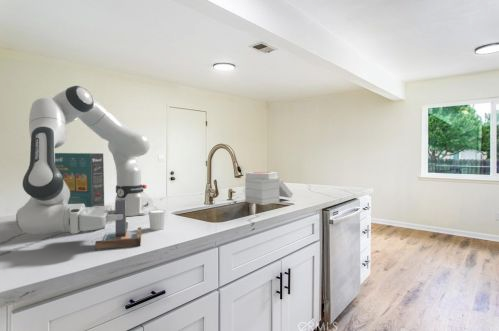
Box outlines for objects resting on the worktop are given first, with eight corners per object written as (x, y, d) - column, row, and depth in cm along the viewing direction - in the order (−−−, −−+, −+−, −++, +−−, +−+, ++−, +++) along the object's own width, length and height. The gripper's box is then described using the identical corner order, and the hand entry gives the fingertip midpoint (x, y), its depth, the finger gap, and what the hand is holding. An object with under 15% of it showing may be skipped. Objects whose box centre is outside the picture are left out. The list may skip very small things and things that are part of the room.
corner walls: (102, 237, 107) (102, 230, 107) (141, 234, 111) (141, 227, 111) (95, 250, 93) (95, 242, 93) (140, 245, 97) (140, 238, 97)
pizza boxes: (295, 200, 189) (295, 172, 188) (261, 205, 169) (262, 174, 168) (273, 196, 203) (273, 170, 203) (240, 201, 183) (240, 172, 182)
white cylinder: (161, 225, 124) (161, 208, 124) (169, 228, 119) (169, 211, 119) (145, 228, 119) (145, 211, 119) (153, 231, 114) (153, 213, 114)
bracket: (125, 236, 100) (125, 201, 99) (115, 237, 99) (115, 201, 98) (127, 227, 112) (127, 195, 112) (119, 227, 111) (118, 196, 111)
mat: (106, 233, 111) (106, 232, 111) (141, 230, 115) (141, 229, 115) (98, 249, 93) (98, 248, 93) (140, 245, 97) (140, 244, 97)
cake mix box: (104, 228, 119) (103, 153, 118) (92, 232, 113) (90, 153, 112) (63, 223, 126) (61, 153, 124) (49, 227, 120) (47, 153, 118)
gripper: (84, 219, 107) (125, 217, 111) (70, 235, 87) (121, 231, 92) (84, 202, 106) (125, 200, 111) (70, 213, 87) (121, 211, 92)
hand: (123, 214), depth 101 cm, fingers closed on bracket, 4 cm apart
